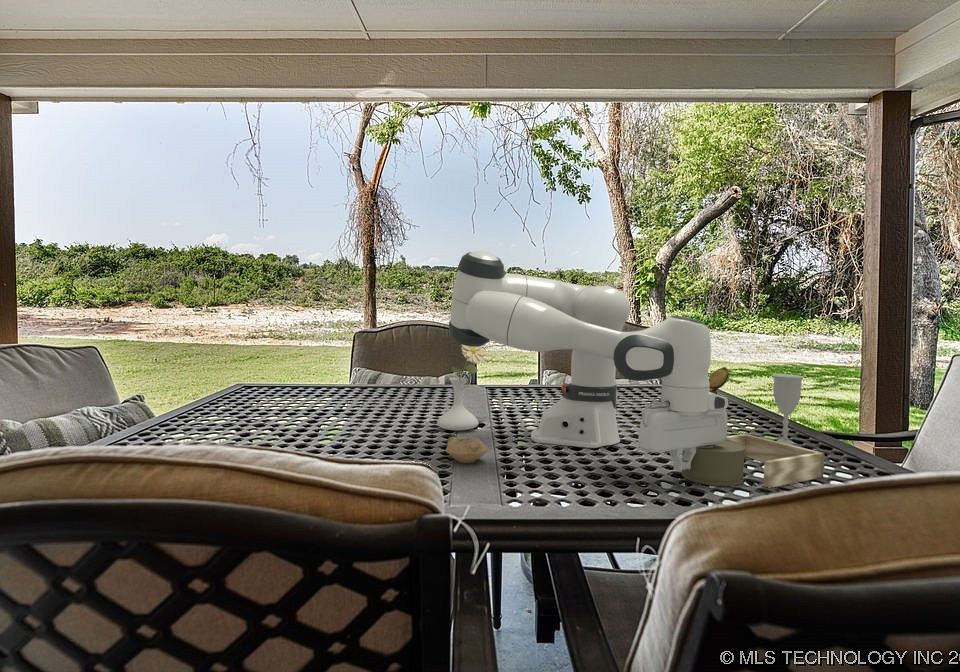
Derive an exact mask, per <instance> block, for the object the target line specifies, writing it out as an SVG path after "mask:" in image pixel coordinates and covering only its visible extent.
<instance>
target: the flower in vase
mask: <svg viewBox="0 0 960 672" xmlns="http://www.w3.org/2000/svg"><path fill="white" fill-rule="evenodd" d="M460 345H461V354H462V355H463V357H464V358H465V359H466V361H465V364H464V367H463V369H462V370H461V369H459V368H457V367H455V366H453V365H452V366H451V371H452V372H453V373H457V374H459V376H457V377H449V378H448V379H449V381H450V383H451V385H452V389H453V403H452V406H451V407H450V408H449V409H448V410H447V411H446V412H444V413H443V414H442V415H441V416H440V417H439V418H438V419H437V421H436V424H437V426H438V427H439V428H441V429H444V430H449V431H469V430H472V429H474V428H476V427H478V426H479V424H480V423H479V420H478V419H477V417H476V416H475V415H474V414H473V413H471V412H470V411H469V410H468V409H466V408H465V406H464V404H463V391H464V387H465V383H466V382H467V381H468V378H467V377H462V375H463V374H464V372H465V370H466V371H467V372H468V373H469V374H475V373H477V372H479V369H478V368H477V366H475V365H479V364H480V362H483V361H484V360H485V357H484V356H485V355H486V353H485V350H484V349H483V346H479V347H470V346H465V345H462V344H460ZM468 362H470V363H472V364H468ZM473 364H475V365H473Z"/></svg>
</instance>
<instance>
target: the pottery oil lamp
mask: <svg viewBox="0 0 960 672" xmlns="http://www.w3.org/2000/svg"><path fill="white" fill-rule="evenodd" d="M446 444H447V446H446V448H445V452H446V453H447V454H449V457H451V458H453V459H454V460H456V461H457V462H458V463H463V464H472V463H474V462H476V460H478V459H481V457H482V456H484V455H485V454H486V453H487V452H489V451H488V450H489V448H488V446H487V445H485V443H484V442H483V441H482V440H480V439H479V438H475V437H463V436H450V437H448V438H447V443H446ZM471 462H472V463H471Z"/></svg>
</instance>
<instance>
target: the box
mask: <svg viewBox="0 0 960 672" xmlns="http://www.w3.org/2000/svg"><path fill="white" fill-rule="evenodd" d="M725 440H730V441H735V442H738V443H740V444H743V445H744V446H745V447H746V450H745V454H744V458H748V459H752V460H756V461H759V462H763V463H764V464H763V468H764V469H763V485H762V486H765V487H764V488H766V487H768V488H767V489H771V487H772V488H775V487H781V486H785V485H791V484H796V483H800V482H806V481H811V480H815V479H822V478H824V469H825V452H821V451H817V450H813V449H808V448H804V447H801V446H796V445H794V444H793V445H794V446H793V445H789V444H785V443H781V442H776V441H777V440H776V441H775V440H771V439H767V438H763V437H759V436H755V435H752V434H746V433H741V434H734V435H727V436H726V439H725Z"/></svg>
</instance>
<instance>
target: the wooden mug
mask: <svg viewBox="0 0 960 672" xmlns="http://www.w3.org/2000/svg"><path fill="white" fill-rule="evenodd" d="M729 377H730V373H729V370H728V369H727V367H726V366H724V367H720V368H718V369H716V370H715V371H712V373H711V374H710V375H709V376H708V380H709V384H710V386H709V392H711V393H714V394H717V395H718V392H717V391H718V390H719V389H721V388H722V387H723V386H725V385H726V383H727V381H728V380H729Z"/></svg>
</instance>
